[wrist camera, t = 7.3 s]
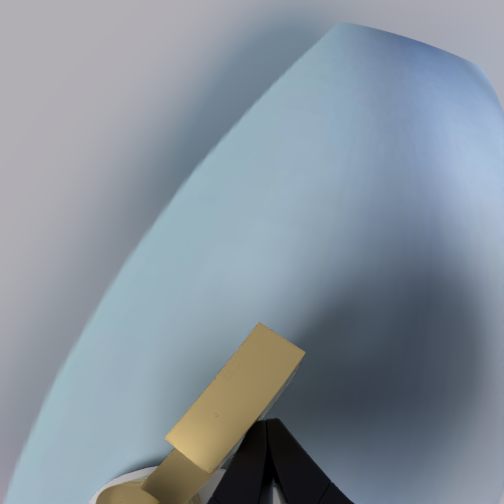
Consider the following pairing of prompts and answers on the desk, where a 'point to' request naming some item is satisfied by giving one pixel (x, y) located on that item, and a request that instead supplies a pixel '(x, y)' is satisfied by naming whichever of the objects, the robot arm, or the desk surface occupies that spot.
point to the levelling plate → (203, 493)
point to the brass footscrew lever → (216, 422)
